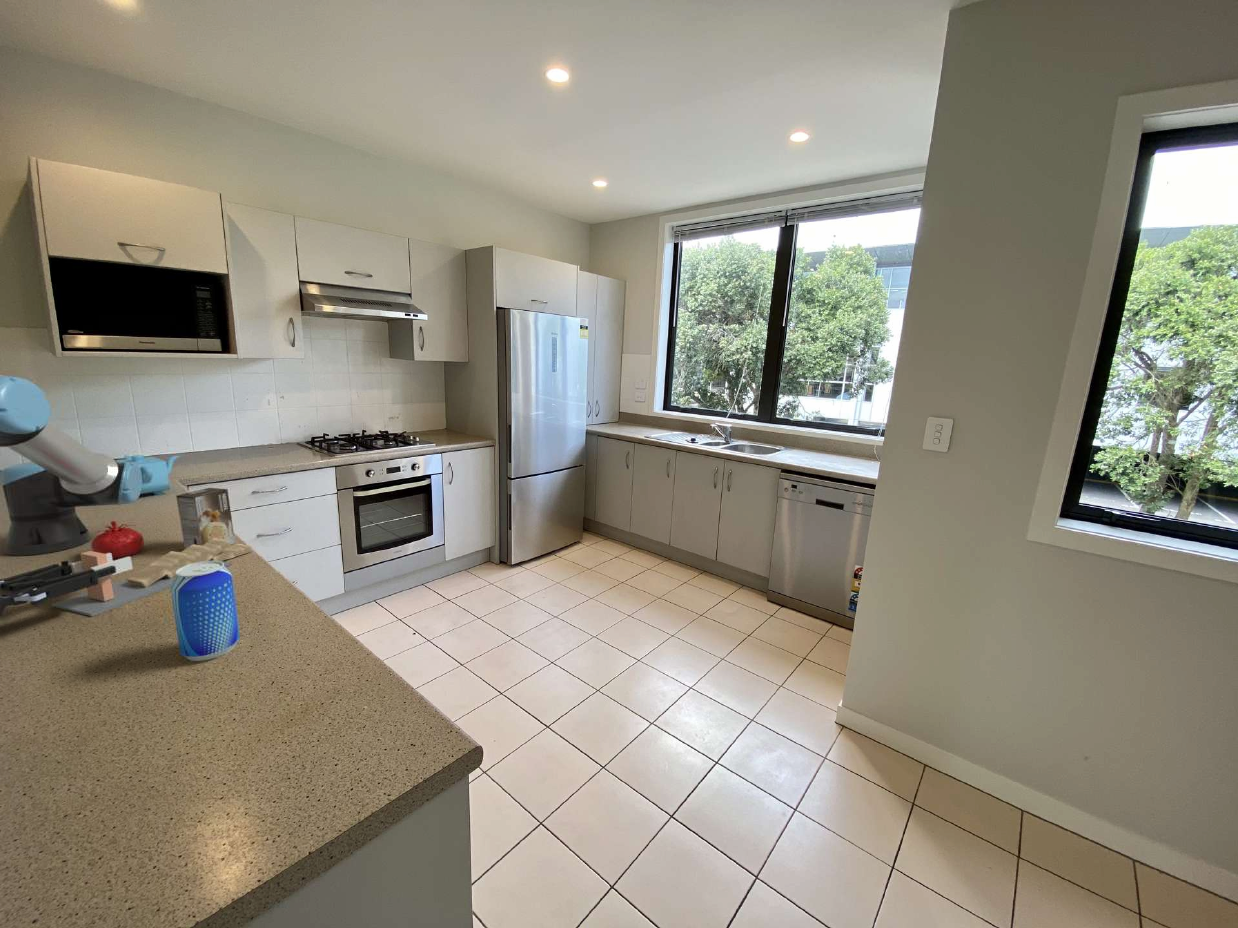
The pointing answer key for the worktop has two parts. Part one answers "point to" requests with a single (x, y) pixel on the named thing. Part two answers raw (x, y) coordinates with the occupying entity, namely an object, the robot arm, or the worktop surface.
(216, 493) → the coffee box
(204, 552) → the tile
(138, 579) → the tile
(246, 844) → the worktop surface
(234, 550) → the wooden block
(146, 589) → the slate board
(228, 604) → the beer can
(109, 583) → the tile
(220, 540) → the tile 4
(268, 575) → the worktop surface
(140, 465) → the teakettle
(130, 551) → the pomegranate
